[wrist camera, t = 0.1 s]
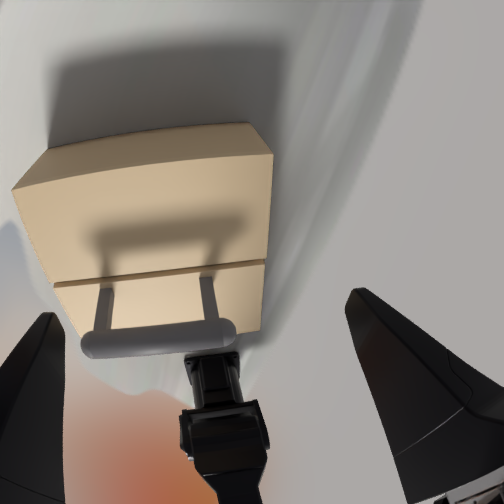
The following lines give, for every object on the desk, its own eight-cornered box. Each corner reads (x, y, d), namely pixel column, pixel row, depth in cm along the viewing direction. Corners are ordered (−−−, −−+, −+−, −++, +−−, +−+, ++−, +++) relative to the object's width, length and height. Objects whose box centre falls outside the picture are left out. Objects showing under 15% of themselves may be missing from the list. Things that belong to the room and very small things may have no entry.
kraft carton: (245, 277, 28) (261, 330, 24) (95, 294, 26) (86, 348, 21) (249, 122, 20) (273, 154, 15) (47, 149, 17) (11, 190, 13)
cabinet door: (258, 325, 24) (275, 383, 20) (88, 343, 22) (82, 402, 18) (262, 259, 20) (286, 325, 16) (54, 282, 17) (36, 349, 13)
